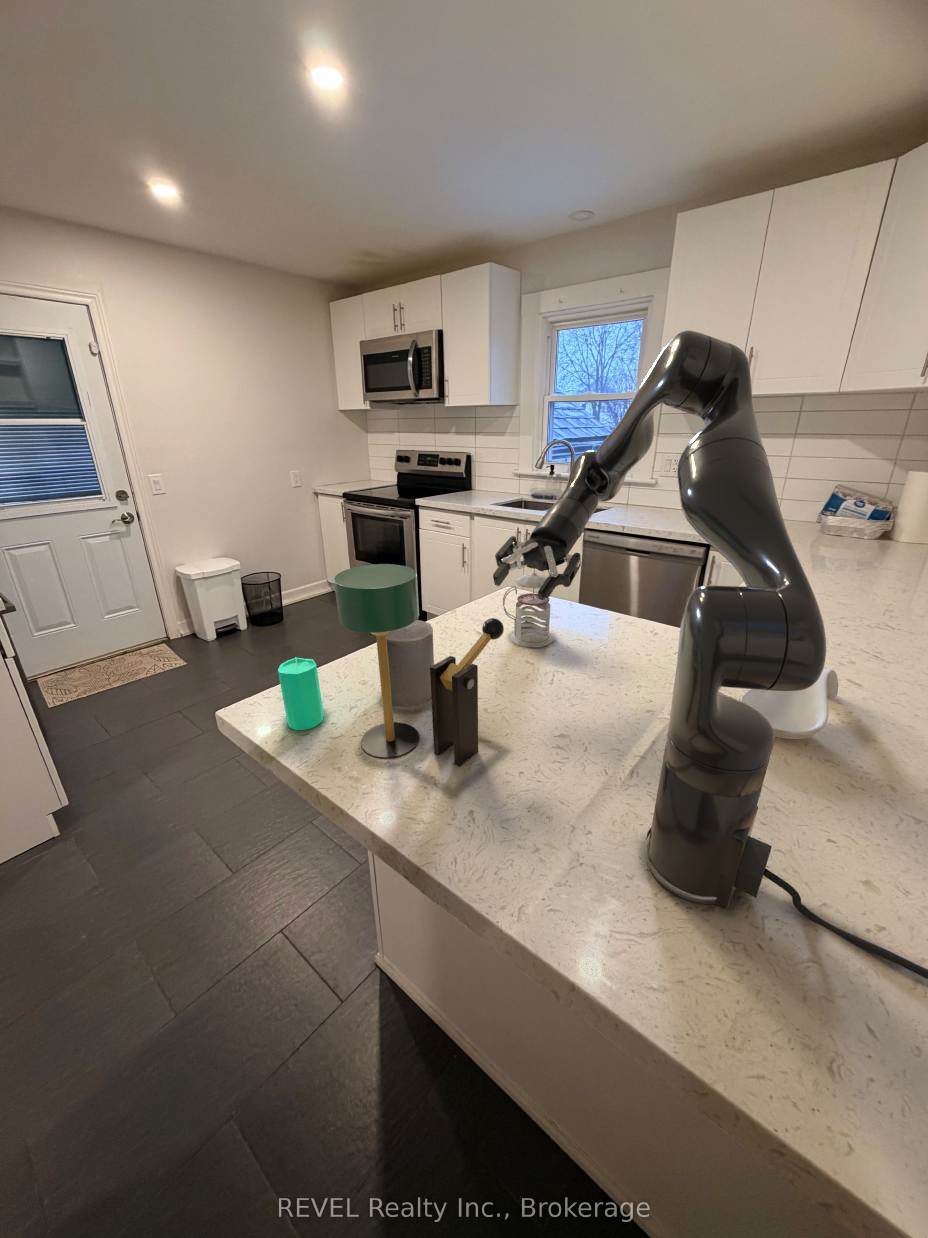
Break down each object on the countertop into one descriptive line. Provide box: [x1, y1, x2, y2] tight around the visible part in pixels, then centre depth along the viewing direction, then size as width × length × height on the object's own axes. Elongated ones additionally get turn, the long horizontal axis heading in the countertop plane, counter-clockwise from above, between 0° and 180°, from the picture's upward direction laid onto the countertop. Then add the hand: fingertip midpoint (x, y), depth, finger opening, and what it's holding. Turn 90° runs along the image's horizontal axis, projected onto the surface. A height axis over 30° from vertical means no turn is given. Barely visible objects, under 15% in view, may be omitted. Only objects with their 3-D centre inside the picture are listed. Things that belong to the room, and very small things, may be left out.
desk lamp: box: [333, 563, 421, 760], centre depth 71 cm, size 15×11×28 cm
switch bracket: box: [430, 655, 479, 768], centre depth 71 cm, size 12×9×16 cm
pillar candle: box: [386, 619, 435, 707], centre depth 87 cm, size 10×10×15 cm
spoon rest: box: [739, 667, 839, 740], centre depth 82 cm, size 24×12×7 cm, turn 128°
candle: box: [277, 656, 325, 731], centre depth 82 cm, size 6×6×12 cm
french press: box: [502, 530, 554, 648], centre depth 109 cm, size 10×12×25 cm
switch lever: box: [440, 617, 505, 690], centre depth 71 cm, size 13×3×3 cm, turn 140°
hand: (517, 589), depth 83 cm, fingers open, 8 cm apart
